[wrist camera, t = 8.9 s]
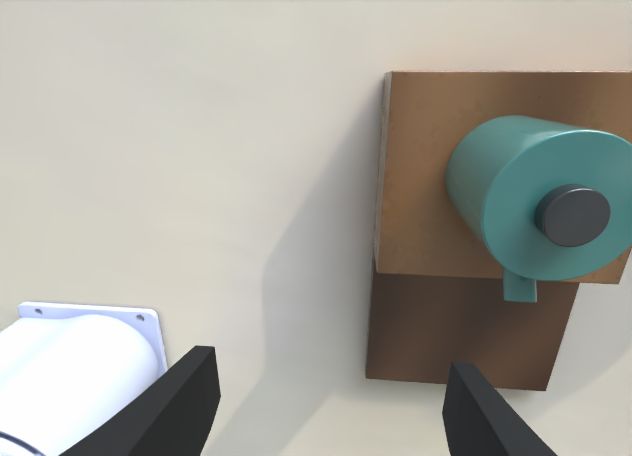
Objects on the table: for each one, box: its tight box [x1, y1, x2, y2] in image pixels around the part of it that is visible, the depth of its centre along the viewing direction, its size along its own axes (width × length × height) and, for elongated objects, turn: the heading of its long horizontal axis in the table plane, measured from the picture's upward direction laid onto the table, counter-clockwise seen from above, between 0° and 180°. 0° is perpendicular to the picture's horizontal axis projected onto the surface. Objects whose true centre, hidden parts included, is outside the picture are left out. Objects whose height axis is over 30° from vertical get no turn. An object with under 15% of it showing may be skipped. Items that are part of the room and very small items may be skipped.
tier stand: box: [365, 71, 632, 391], centre depth 19 cm, size 11×18×3 cm, turn 0°
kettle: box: [445, 115, 632, 302], centre depth 13 cm, size 7×5×5 cm
